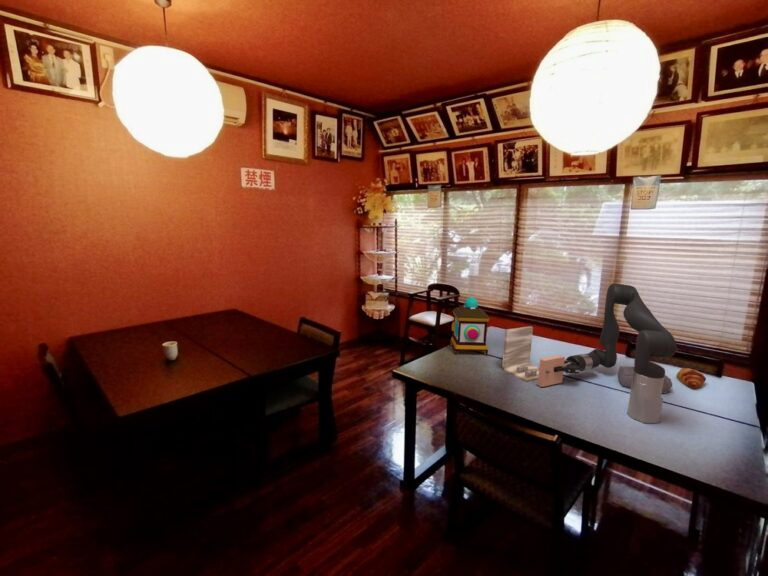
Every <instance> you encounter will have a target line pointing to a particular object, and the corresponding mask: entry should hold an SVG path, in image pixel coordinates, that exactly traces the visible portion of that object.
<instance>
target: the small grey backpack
mask: <svg viewBox="0 0 768 576" xmlns="http://www.w3.org/2000/svg"><path fill="white" fill-rule="evenodd" d="M633 372H634V366H619V368H618V371H617V381H618V383H619V385H621V386H622V387H625V388H629V389H631V385H632V378H633ZM672 387H673V383H672V379H671V378H669V377H668V376H667V375H666V374H665V376H664V382H663V387H662V393H661V394H666V393H669V392H670V390H671V389H672Z"/></svg>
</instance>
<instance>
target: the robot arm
mask: <svg viewBox="0 0 768 576" xmlns="http://www.w3.org/2000/svg"><path fill="white" fill-rule="evenodd" d="M615 304H617V305H623V306H625V307H624V308H623V313H622V314H623V318H624V320H625V321H626V323H627V325H628V326H629V327H631V329H632V330H634V331H636V332H638V333H637V335H636V336H637V337H636V341H635V342H636V343H635V351H634V352H635V353H634V354H635V355H634V362H633V363H634V366H633V367H634V372H633V378H632V385H631V388H630V391H629V392H630V393H629V398H628V403H627V404H628V406H627V413H626V414H627V415H628V416H629V417H630V418H632V419H634V420H635V421H639V422H641V423H643V424H651V423H653V424H657V423H658V424H659V423H660V418H661V411H662V407H663V401H664V399H663V398H662V394H663V393H662V387H663V382H664V376H665V375H666V369H665V368H664V367H663V366H661V365H660V364H657V363H655V362H652V361H650V357H653V358H654V357H655V358H671V357H673V356H674V355H675V354H676V352H677V342H676V339H675V337H674V336H673V335H672V333H671V332H670V331H669V330H668V329H667V328H666V327H664V326H663V325H662V324H661V323H660V322H659V321H658V319H657V318H656V317H655V316H654V314H653V312H652V311H651V310H650V309H649V308H648V306H647V305H646V304H645V303H644V301H643V299H642V298H641V296H640V294H639V292H638V290H637V288H636V287H635V286H632V285H629V284H623V283H614V282H613V283H611V284H610V285H609V286H608V288H607V291H606V296H605V305H604V306H605V307H604V312H603V313H604V314H603V324H602V330H601V332H600V333H601V334H600V337H599V341H598V342H599V344H600V346H601V347H603V348H604V349H602V348H594V349H593V350H591V351H590V352H587V353H583V354H582V353H581V354H574V355H570V356H567V357H566V359H564V365H562V366H558V367H554V372H559V371H561V372H563V373H565V374H577V375H579V374H580V372H585V371H588V370H592V369H595V368H598V367H599V366H601V367H605V368H607V369H612V368H614V367H615V366H616V364H617V362H618V356H617V355H618V352H617V350H618V349H617V343H618V340H619V335H620V326H619V322H618V320H617V318H616V315H615V311H614V310H615V309H614V307H615Z"/></svg>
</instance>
